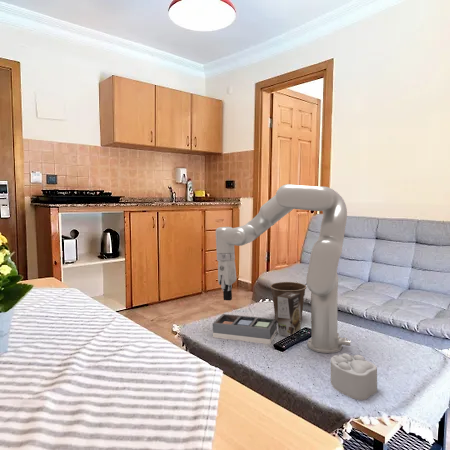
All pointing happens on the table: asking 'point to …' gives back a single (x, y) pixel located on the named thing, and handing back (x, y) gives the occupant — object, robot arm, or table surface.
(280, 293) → the plant pot
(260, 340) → the base
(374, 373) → the lumpy-topped squat cylinder
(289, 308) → the coffee box
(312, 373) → the table surface
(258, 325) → the key sage
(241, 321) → the key slate
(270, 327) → the frame
